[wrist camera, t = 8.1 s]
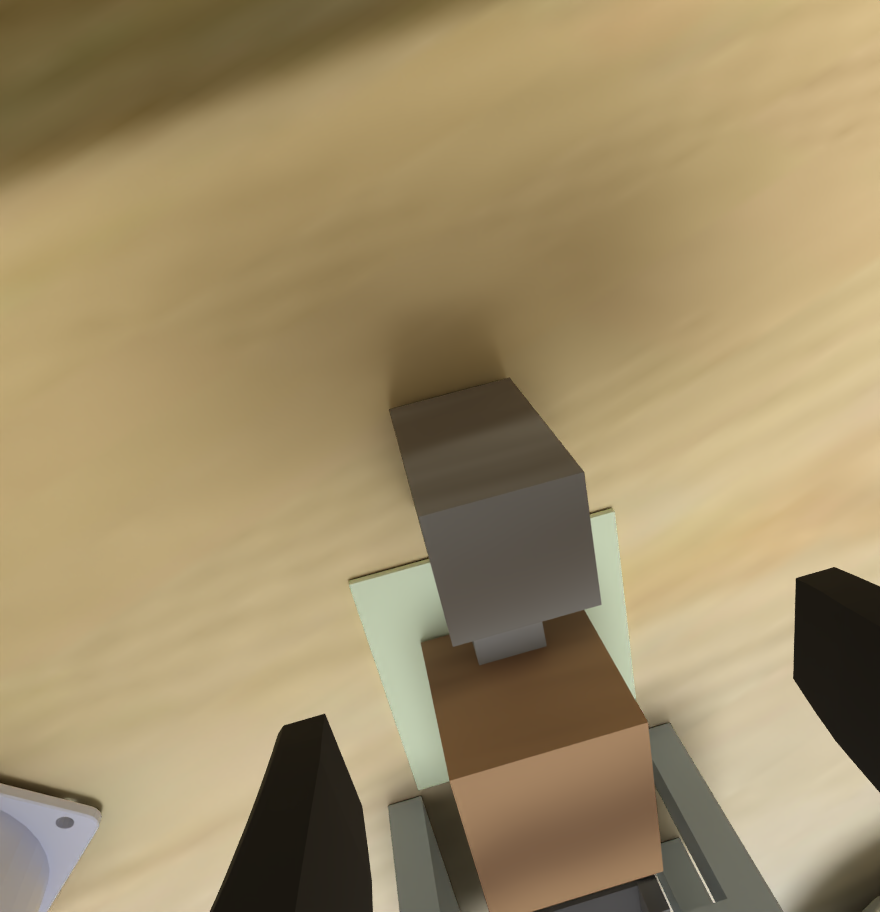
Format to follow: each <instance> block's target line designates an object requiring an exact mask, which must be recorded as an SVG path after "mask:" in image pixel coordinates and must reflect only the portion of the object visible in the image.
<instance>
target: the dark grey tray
mask: <svg viewBox="0 0 880 912" xmlns="http://www.w3.org/2000/svg"><path fill="white" fill-rule="evenodd" d="M535 912H670V908H669V906H668V904H667V902H666V899H665V897H664V895H663V893H662V891H661V889H660V886H659V884H658V882H657V880H656V878H655V875H652V876H649V877H646V878H643V879H639V880H636V881H633V882H630V883H626V884H623V885H620V886H617V887H613V888H610V889H607V890H604V891H600V892H597V893H594V894H591V895H587V896H584V897H581V898H578V899H574V900H571V901H568V902H565V903H561V904H558V905H555V906H552V907H548V908H545V909H542V910H539V911H535Z"/></svg>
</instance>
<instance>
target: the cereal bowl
mask: <svg viewBox="0 0 880 912" xmlns="http://www.w3.org/2000/svg"><path fill="white" fill-rule="evenodd" d="M862 912H880V895H879V896H878V897H877V898H875V899H874V900H873V901H872V902H871V903H870V904H869V905H868V906H867V907H866V908H865V909H864V910H863V911H862Z"/></svg>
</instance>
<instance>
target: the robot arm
mask: <svg viewBox="0 0 880 912" xmlns="http://www.w3.org/2000/svg"><path fill="white" fill-rule="evenodd" d="M793 679H794V680H795V682H796V683H797V685H798V686H799V688H800V690H801V691H802V693H803V694H804V696H805V697H806V699H807V700H808V702H809V703H810V705H811V706H812V708H813V709H814V711H815V712H816V714H817V715H818V716H819V718H820V719H821V721H822V722H823V724H824V725H825V726H826V728H827V729H828V731H829V732H830V734H831V735H832V736H833V738H834V739H835V741H836V742H837V743H838V744H839V745H840V747H841V748H842V749H843V750H844V751H845V753H846V754H847V755H848V756H849V757H850V758H851V760H852V761H853V762H854V763H855V764H856V765H857V767H858V768H859V769H860V770H861V771H862V772H863V774H864V775H865V776H866V777H867V778H868V779H869V781H870V782H871V783H872V784H873V785H874V786H875V788H876V789H877V790H878V791H879V792H880V586H877V585H875V584H873V583H871V582H868V581H866V580H864V579H861V578H859V577H857V576H855V575H852V574H850V573H847V572H845V571H843V570H840V569H838V568H835V567H833V568H830V569H826V570H823V571H819V572H816V573H812V574H809V575H805V576H802V577H798V578H796V596H795V634H794V671H793ZM101 817H102V816H101V813H100V811H99V810H98V809H96V808H95V807H92V806H89V805H85V804H81V803H77V802H73V801H69V800H65V799H61V798H57V797H53V796H49V795H45V794H41V793H37V792H33V791H29V790H25V789H22V788H18V787H14V786H10V785H6V784H2V783H0V912H47V911H48V910H49V908H50V906H51V905H52V903H53V901H54V900H55V898H56V896H57V895H58V893H59V892H60V890H61V888H62V887H63V885H64V883H65V882H66V880H67V879H68V877H69V875H70V874H71V872H72V870H73V869H74V867H75V866H76V864H77V862H78V861H79V859H80V857H81V856H82V854H83V853H84V851H85V849H86V848H87V846H88V844H89V843H90V841H91V840H92V838H93V836H94V835H95V833H96V831H97V830H98V827H99V824H100V821H101ZM210 912H373V904H372V879H371V871H370V862H369V854H368V846H367V838H366V831H365V824H364V816H363V809H362V805H361V802H360V800H359V797H358V795H357V792H356V790H355V787H354V785H353V782H352V780H351V777H350V775H349V772H348V770H347V767H346V765H345V762H344V760H343V757H342V755H341V752H340V750H339V747H338V745H337V742H336V740H335V737H334V735H333V732H332V730H331V727H330V725H329V722H328V720H327V717H326V715H325V714H322V715H319V716H315V717H312V718H308V719H305V720H301V721H298V722H294V723H291V724H287V725H284V726H283V727H282V729H281V730H280V732H279V733H278V736H277V739H276V742H275V745H274V749H273V752H272V755H271V757H270V760H269V763H268V766H267V769H266V772H265V775H264V778H263V781H262V784H261V786H260V789H259V792H258V795H257V797H256V800H255V803H254V805H253V808H252V811H251V813H250V816H249V819H248V821H247V824H246V826H245V829H244V831H243V834H242V836H241V839H240V841H239V844H238V846H237V849H236V851H235V854H234V856H233V859H232V861H231V863H230V866H229V868H228V871H227V873H226V876H225V878H224V881H223V883H222V885H221V888H220V890H219V892H218V895H217V897H216V899H215V901H214V903H213V906H212V908H211V910H210Z"/></svg>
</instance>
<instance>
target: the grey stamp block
mask: <svg viewBox="0 0 880 912" xmlns="http://www.w3.org/2000/svg"><path fill="white" fill-rule="evenodd" d="M389 411H390V415H391V419H392V422H393V426H394V430H395V434H396V437H397V441H398V445H399V449H400V452H401V456H402V460H403V464H404V467H405V471H406V475H407V479H408V482H409V486H410V490H411V494H412V497H413V501H414V505H415V509H416V512H417V516H418V520H419V523H420V527H421V531H422V535H423V538H424V542H425V546H426V549H427V553H428V557H429V560H430V564H431V568H432V572H433V575H434V579H435V583H436V586H437V590H438V594H439V597H440V601H441V605H442V609H443V612H444V616H445V620H446V623H447V627H448V631H449V635H446V636H442V637H439V638H435V639H432V640H428V641H424V642H421V647H422V652H423V657H424V662H425V666H426V671H427V676H428V681H429V686H430V690H431V695H432V700H433V705H434V709H435V714H436V719H437V724H438V729H439V733H440V738H441V743H442V748H443V753H444V757H445V762H446V767H447V772H448V776H449V781H450V784H451V788H452V791H453V794H454V798H455V801H456V804H457V807H458V811H459V814H460V817H461V820H462V824H463V827H464V830H465V834H466V837H467V840H468V843H469V847H470V850H471V853H472V857H473V860H474V863H475V866H476V870H477V873H478V876H479V880H480V883H481V886H482V889H483V893H484V896H485V899H486V903H487V906H488V909H489V912H533V911H536V910H539V909H542V908H546V907H549V906H552V905H555V904H559V903H562V902H565V901H568V900H572V899H575V898H578V897H581V896H585V895H588V894H591V893H594V892H598V891H601V890H604V889H607V888H611V887H614V886H617V885H620V884H624V883H627V882H630V881H633V880H637V879H640V878H643V877H646V876H650V875H653V874H656V873H659V872H663V861H662V852H661V842H660V833H659V823H658V813H657V804H656V794H655V785H654V775H653V766H652V756H651V746H650V737H649V727H648V722H647V720H646V718H645V716H644V714H643V713H642V711H641V709H640V707H639V706H638V704H637V702H636V700H635V699H634V697H633V695H632V693H631V691H630V690H629V688H628V686H627V684H626V683H625V681H624V679H623V677H622V676H621V674H620V672H619V670H618V668H617V667H616V665H615V663H614V661H613V660H612V658H611V656H610V654H609V653H608V651H607V649H606V647H605V645H604V644H603V642H602V640H601V638H600V637H599V635H598V633H597V631H596V630H595V628H594V626H593V624H592V622H591V621H590V619H589V617H588V615H587V614H586V612H585V609H588V608H592V607H596V606H599V605H602V603H601V596H600V588H599V581H598V573H597V565H596V558H595V550H594V543H593V535H592V528H591V520H590V513H589V505H588V498H587V490H586V483H585V475H584V471H583V470H582V469H581V467H580V466H579V465H578V464H577V462H576V461H575V460H574V459H573V457H572V456H571V455H570V454H569V452H568V451H567V450H566V448H565V447H564V446H563V445H562V443H561V442H560V441H559V440H558V438H557V437H556V436H555V435H554V433H553V432H552V431H551V430H550V428H549V427H548V426H547V425H546V423H545V422H544V421H543V419H542V418H541V417H540V416H539V414H538V413H537V412H536V411H535V409H534V408H533V407H532V406H531V404H530V403H529V402H528V401H527V399H526V398H525V397H524V395H523V394H522V393H521V392H520V390H519V389H518V388H517V387H516V385H515V384H514V383H513V382H512V380H511V379H510V378H507V379H503V380H499V381H495V382H492V383H488V384H484V385H480V386H476V387H472V388H469V389H465V390H461V391H457V392H453V393H450V394H446V395H442V396H438V397H434V398H431V399H427V400H423V401H419V402H415V403H412V404H408V405H404V406H400V407H396V408H393V409H389Z"/></svg>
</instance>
